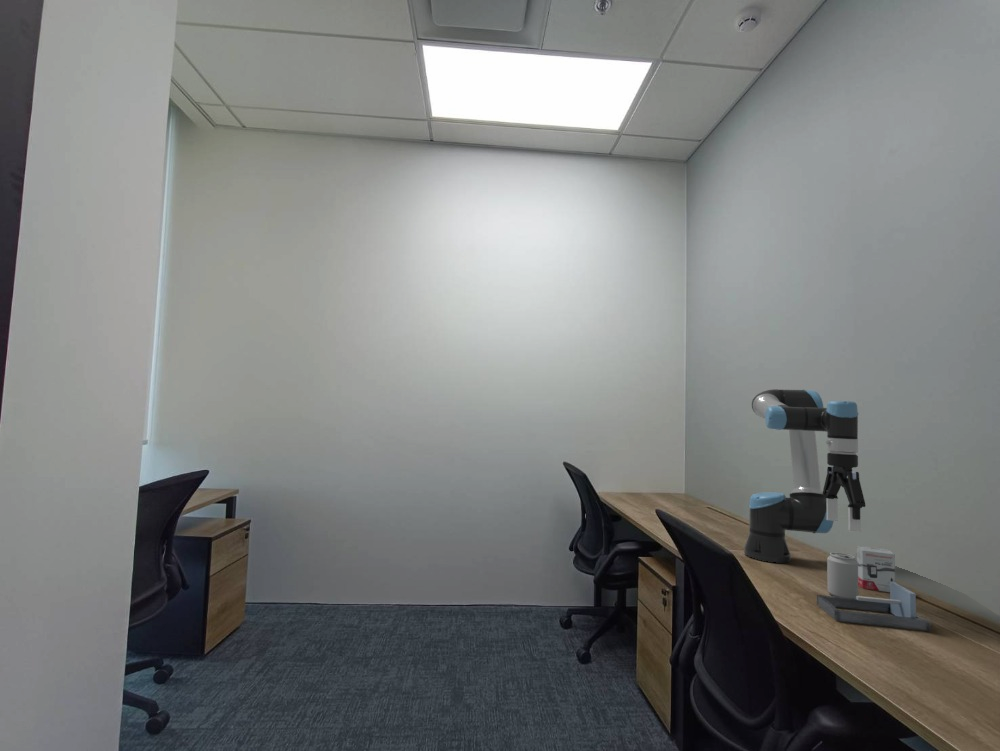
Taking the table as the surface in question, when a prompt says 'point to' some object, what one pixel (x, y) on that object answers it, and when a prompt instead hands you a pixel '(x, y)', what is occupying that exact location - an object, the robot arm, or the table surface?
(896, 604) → the pusher
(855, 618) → the frame
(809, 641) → the table surface
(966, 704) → the table surface
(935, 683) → the table surface
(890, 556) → the ink box
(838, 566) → the can
